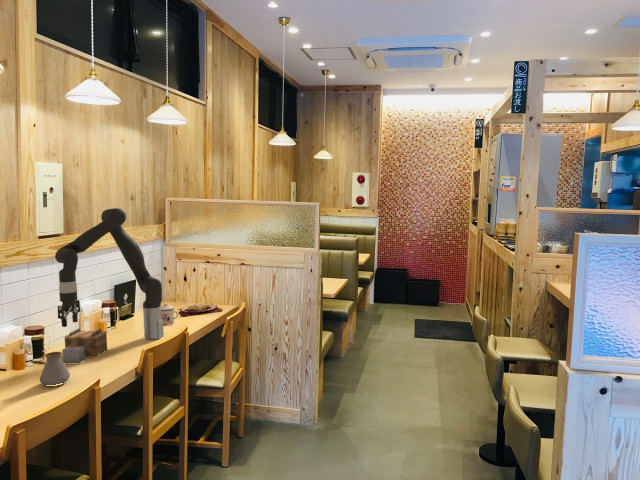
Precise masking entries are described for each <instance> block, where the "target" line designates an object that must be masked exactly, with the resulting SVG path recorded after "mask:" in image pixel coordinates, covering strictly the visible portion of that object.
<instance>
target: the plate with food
mask: <svg viewBox="0 0 640 480" xmlns="http://www.w3.org/2000/svg"><path fill="white" fill-rule="evenodd" d="M176 311H178V314H180V315H181V316H195V315H199V314H200V315H201V314H202V315H203V314H205V313H203V312H207V314H213V313H218V312H221V311H223V308H221V307H219V306H217V304H213V303H209V304H205V303H203V304H202V303H200V304H191V305H186V306H183V307H182V308H177V310H176Z"/></svg>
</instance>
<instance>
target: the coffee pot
mask: <svg viewBox="0 0 640 480" xmlns="http://www.w3.org/2000/svg"><path fill="white" fill-rule="evenodd" d="M62 355H63V353H62V351H51V352H47V353H45V354H44V357H45V358H46V361H43V360H42V361H41V360H32V361H30V363H31V364H33V365H30V367H34V365H44V366H43V369H42V372H41V374H40V377H39V382H40V383H41V384H42V385H43V384H44V385H43V386H45V385H56V384H60V383H64V382H65V383H66V382H67V381H68V380H69V378H70V377H71V373H70V371H69V369H67V366H66V364H64V363H63V359H62V358H61V356H62ZM65 383H64V384H65Z"/></svg>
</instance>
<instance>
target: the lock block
mask: <svg viewBox="0 0 640 480" xmlns="http://www.w3.org/2000/svg"><path fill="white" fill-rule="evenodd" d="M61 352H62V361H63V363H80V362H82V361H84V360H85V361H86V356H85V347H84V346H68V347H66V348H65V347H64V348H62V351H61ZM85 361H84V362H85ZM82 363H83V362H82Z"/></svg>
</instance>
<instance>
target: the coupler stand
mask: <svg viewBox="0 0 640 480" xmlns="http://www.w3.org/2000/svg"><path fill="white" fill-rule="evenodd" d="M68 346H84V347H85V357H88V356H97V357H99V356H100V355H99V354H101V353H102V352H104V351H105V352H107V351H108V337H107V331H105V330H102V328H99V329H97V330H81V328H77V329H75V330H73V331H71V332H69V334H67V335H65V336H64V348H66V347H68ZM106 350H107V351H106ZM105 352H104V353H105ZM102 354H103V353H102ZM102 354H101V355H102ZM98 355H99V356H98Z"/></svg>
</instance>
